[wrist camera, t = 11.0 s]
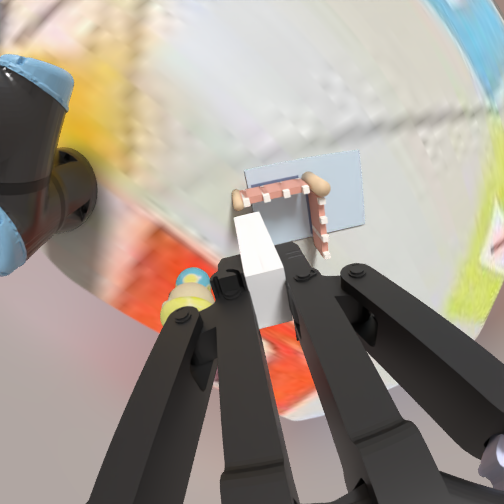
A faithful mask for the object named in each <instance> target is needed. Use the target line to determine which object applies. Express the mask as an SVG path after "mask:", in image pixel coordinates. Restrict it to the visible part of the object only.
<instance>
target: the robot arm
mask: <svg viewBox="0 0 504 504" xmlns="http://www.w3.org/2000/svg"><path fill="white" fill-rule="evenodd" d="M73 87H74V80H73V77H72V76H71V74H70V73H68V72H67V71H65V70H64V69H62V68H59V67H57V66H55V65H52V64H49V63H46V62H43V61H40V60H37V59H33V58H25V57H22V56H18V55H12V54H5V55H2V56H1V57H0V276H7V275H9V274H10V273H12V272H13V271H14V270H15V269H17V268H18V267H20V266H22V265H23V264H24V263H25V262H26V260H27V259H28V258H29V257H30V256H31V255H33V254H34V253H35V252H36V251H37V250H38V249H39V248H40V247H41V246H42V245H43V244H44V243H45V242H46V241H47V240H48V239H50V238H51V237H52V236H53V235H54V234H58V233H64V232H69V231H72V230H74V229H76V228H77V227H79V226H80V225H81V224H82V223H83V222H85V221H86V220H87V219H88V217H89V216H90V215H91V213H92V211H93V209H94V206H95V203H96V198H97V183H96V178H95V174H94V172H93V169H92V167H91V165H90V164H89V162H88V161H87V159H86V158H85V157H84V156H83V155H82V154H80V153H79V152H78V151H76V150H74V149H71V148H65V147H62V148H57V145H58V141H59V137H60V133H61V129H62V125H63V122H64V118H65V115H66V113H67V112H68V110H69V107H68V104H69V100H70V97H71V94H72V90H73ZM234 221H235V227H236V233H237V238H238V244H239V249H240V254H239V255H235V256H231V257H227V258H223V259H221V261H220V262H219V264H218V271H217V272H216V273H214V274H213V275H212V276H211V278H210V284H211V287H212V290H213V293H214V295H215V299H216V301H215V302H214V303H213V304H212V305H211V306H209V307H207V308H206V309H203V310H201V311H198V309H197V308H195V307H193V306H185V307H181V308H178V309H176V310H175V311H173V312H172V313H171V314H170V315H169V316H168V318H167V320H166V322H165V324H164V326H163V328H162V330H161V332H160V334H159V336H158V338H157V340H156V343H155V344H154V347H153V349H152V351H151V353H150V355H149V357H148V359H147V361H146V364H145V366H144V368H143V370H142V372H141V375H140V376H139V379H138V381H137V383H136V385H135V388H134V390H133V392H132V394H131V397H130V399H129V401H128V404H127V406H126V408H125V410H124V413H123V415H122V417H121V419H120V422H119V424H118V427H117V429H116V431H115V434H114V436H113V439H112V441H111V443H110V446H109V449H108V451H107V453H106V456H105V458H104V461H103V464H102V466H101V469H100V471H99V474H98V477H97V479H96V482H95V485H94V488H93V490H92V493H91V496H90V498H89V501H88V502H87V503H86V504H183V502H184V498H185V494H186V489H187V485H188V481H189V477H190V473H191V469H192V465H193V461H194V457H195V453H196V449H197V445H198V441H199V437H200V433H201V429H202V425H203V421H204V417H205V413H206V409H207V405H208V401H209V397H210V393H211V389H212V386H213V382H214V378H215V374H216V370H217V366H218V376H219V392H220V393H219V394H220V409H221V424H222V437H223V449H224V460H225V470H224V472H223V473H222V475H221V479H220V493H221V503H222V504H300V502H299V498H298V494H297V491H296V487H295V484H294V480H293V476H292V471H291V467H290V463H289V458H288V454H287V450H286V446H285V441H284V437H283V432H282V428H281V424H280V419H279V414H278V410H277V406H276V401H275V397H274V392H273V388H272V383H271V379H270V374H269V370H268V365H267V361H266V356H265V352H264V347H263V342H262V338H261V334H260V330H259V329H261V328H265V327H269V326H273V325H277V324H281V323H285V322H289V321H292V320H293V319H294V325H295V331H296V338H297V341H298V340H299V341H300V344H301V347H302V349H303V352H304V355H305V358H306V361H307V364H308V367H309V369H310V372H311V375H312V378H313V381H314V384H315V387H316V390H317V393H318V395H319V398H320V401H321V404H322V407H323V410H324V413H325V416H326V419H327V421H328V425H329V428H330V431H331V434H332V437H333V440H334V443H335V446H336V449H337V452H338V455H339V458H340V461H341V464H342V467H343V472H344V479H345V483H346V487H347V490H348V494H346V495H344V496H343V497H341V498H339V499H337V500H336V501H333V502H329V503H313V504H504V364H503V363H502V362H500V361H499V360H498V359H497V358H495V357H494V356H493V355H492V354H491V353H489V352H488V351H487V350H486V349H484V348H483V347H482V346H481V345H479V344H478V343H477V342H475V341H474V340H473V339H472V338H470V337H469V336H468V335H466V334H465V333H464V332H462V331H461V330H460V329H458V328H457V327H456V326H454V325H453V324H452V323H450V322H449V321H448V320H446V319H445V318H444V317H442V316H441V315H439V314H438V313H437V312H435V311H434V310H433V309H431V308H430V307H428V306H427V305H426V304H424V303H423V302H421V301H420V300H418V299H417V298H416V297H414V296H413V295H411V294H410V293H408V292H407V291H406V290H404V289H403V288H401V287H400V286H398V285H397V284H395V283H394V282H392V281H391V280H389V279H388V278H386V277H385V276H383V275H382V274H380V273H379V272H377V271H376V270H374V269H373V268H371V267H370V266H368V265H365V264H360V263H354V264H350V265H347V266H345V267H344V268H342V270H341V272H340V274H341V276H323V275H321V274H320V272H319V271H318V270H317V269H314V268H312V267H311V266H310V265H309V263H308V261H307V260H306V258H305V256H304V255H303V253H302V251H301V250H300V248H299V246H298V245H297V244H295V243H293V242H291V241H290V242H285V243H281V244H277V245H274V244H273V242H272V240H271V237H270V235H269V233H268V231H267V228H266V226H265V224H264V222H263V219H262V217H261V215H260V213H259V211H258V212H254V213H250V214H246V215H242V216H237V217H234ZM292 316H293V319H292ZM366 351H367V352H368V353H369V354H370V355H371V356H372V357H373V358H374V359H375V360H376V361H377V362H378V363H379V364H380V365H381V366H382V367H383V368H384V369H385V370H386V371H387V372H388V373H389V375H390V376H391V377H392V378H393V379H394V380H395V381H396V382H397V383H398V384H399V385H400V386H401V387H402V388H403V389H404V390H405V391H406V392H407V393H408V394H409V395H410V396H411V397H412V398H413V399H414V400H415V401H416V402H417V403H418V404H419V405H420V406H421V407H422V408H423V409H424V410H425V411H426V412H427V413H428V414H429V415H430V416H431V417H432V418H433V420H435V422H436V423H437V424H438V425H439V426H440V427H441V428H442V429H443V430H444V431H445V432H446V433H447V434H448V435H449V436H450V437H451V438H452V439H453V440H454V441H455V442H456V443H457V444H458V445H459V446H460V447H461V448H462V449H463V450H465V451H466V452H468V453H469V454H471V455H472V456H474V457H476V458H478V459H480V460H481V464H480V465H479V468H478V472H479V475H480V476H482V477H486V478H487V479H489V480H490V481H491V483H492V485H493V488H490V487H486V486H483V485H480V484H477V483H473V482H470V481H467V480H464V479H461V478H458V477H455V476H453V475H450V474H447V473H444V472H441V471H439V470H438V468H437V466H436V464H435V462H434V460H433V457H432V455H431V453H430V451H429V449H428V447H427V445H426V443H425V441H424V439H423V437H422V435H421V433H420V431H419V430H418V428H417V427H416V425H415V424H414V423H413V422H411V421H408V420H404V419H403V418H402V416H401V415H400V413H399V411H398V409H397V407H396V405H395V404H394V402H393V400H392V398H391V396H390V394H389V392H388V390H387V388H386V386H385V384H384V383H383V381H382V379H381V377H380V375H379V373H378V372H377V370H376V368H375V366H374V364H373V362H372V361H371V359H370V357H369V355H368V353H367V352H366Z"/></svg>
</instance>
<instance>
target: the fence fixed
mask: <svg viewBox="0 0 504 504" xmlns="http://www.w3.org/2000/svg"><path fill="white" fill-rule="evenodd" d="M310 189H311V190H312V191H313V192H314V193H315V194H317V195H318V196H320V197H325V196H327V195H328V194H329V193H330V190H331V187H330V184H329V183H328V182H327V181H325V180H323V179H322V178H320V177H319V176H317V175H315V174H314V173H312V172H305V173H303V175H302V177H301V179H300V178H296V179H291V180H286V181H281V182H277V183H272V184H267V185H263V186H258V187H254V188H249V189H245V190H241V191H239V190H237V189H235V190H233V191H232V199H233V206H234V209H235V210H236V211H241V210H242V209H243V208H244V207H248V206H251V205H250V204H252V203H256V202H261V201H264V202H265V203H266V202H270V201H271V199H274V198H279V197H284V198H289V197H291V195H293V194H298V193H303V194H308V193H310Z"/></svg>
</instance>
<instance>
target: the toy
mask: <svg viewBox="0 0 504 504" xmlns="http://www.w3.org/2000/svg"><path fill="white" fill-rule="evenodd" d="M213 303H214V298H213V296H212V294H211V284H210V278H209V276H208V275H207V273H206V272H204V271H203V270H202V269H200V268H196V267H191V268H187V269H185V270H184V271H182V272H181V273H180V275H179V276H178V278H177V280H176V288H174V289H173V290H172V291H171V292H170V294H169V298H168V300H167V301H165V302H164V303H163V304H162V310H161V313H160V319H161V323H162V325H163V326H164V324H165V322H166V320H167V318H168V316H169V315H170V314H171V313H172V312H173V311H175V310H176V309H178V308H181V307H185V306H193V307H195V308H197V309H198V311H201V310H203V309H206V308H207V307H209V306H211V305H212V304H213Z"/></svg>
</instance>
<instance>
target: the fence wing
mask: <svg viewBox="0 0 504 504" xmlns="http://www.w3.org/2000/svg"><path fill="white" fill-rule="evenodd" d="M308 198H309V205H310V213H311V222H312V230H313V240H314V245H315V247H316V248H317V249H318V251H319V252H320V254H321V255H322V257H323V258H324V259H325V260H326V259H330V258H331V257H330V253H329V251H328V242H329V236H328V234H327V230H326V224H327V223H328V219H327V217H326V216H325V209H324V204H326V199H325V198H324V197H320V196H318V195H317V194H315V193H314V192H313V191H312V190H311V189H310V193H308Z"/></svg>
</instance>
